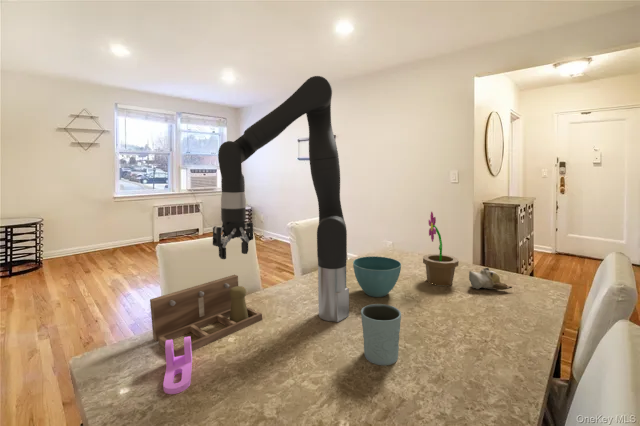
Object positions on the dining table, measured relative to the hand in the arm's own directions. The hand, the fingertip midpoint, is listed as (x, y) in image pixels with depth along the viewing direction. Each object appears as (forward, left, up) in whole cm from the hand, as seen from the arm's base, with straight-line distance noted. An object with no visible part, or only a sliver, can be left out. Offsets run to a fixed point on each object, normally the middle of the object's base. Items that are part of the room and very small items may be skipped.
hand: (234, 256), depth 104 cm
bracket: (-16, +27, -21) cm, 38 cm away
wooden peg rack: (-1, +10, -21) cm, 23 cm away
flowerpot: (-39, -75, -21) cm, 87 cm away
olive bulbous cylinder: (-3, +1, -21) cm, 21 cm away
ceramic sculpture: (-56, -80, -21) cm, 100 cm away
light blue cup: (-48, -11, -21) cm, 53 cm away
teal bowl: (-25, -47, -21) cm, 57 cm away
